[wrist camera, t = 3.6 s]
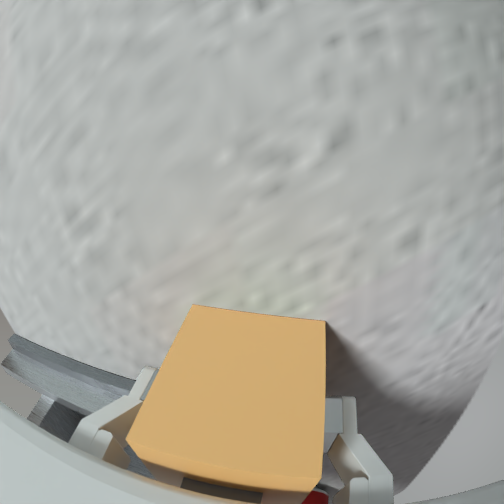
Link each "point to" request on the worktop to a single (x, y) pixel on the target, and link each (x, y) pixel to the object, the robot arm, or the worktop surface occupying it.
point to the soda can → (316, 497)
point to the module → (237, 408)
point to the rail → (66, 391)
